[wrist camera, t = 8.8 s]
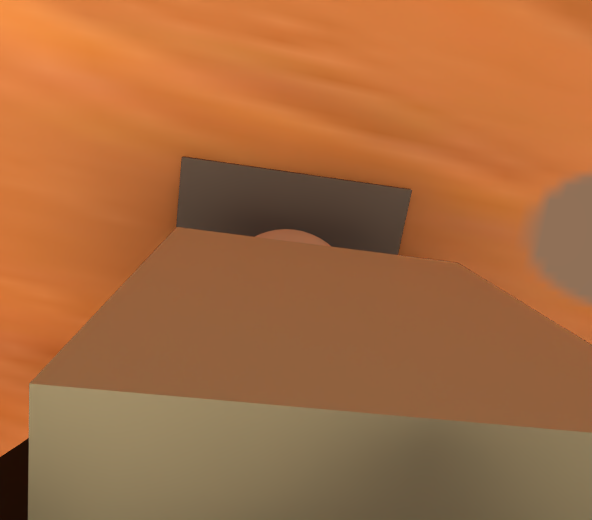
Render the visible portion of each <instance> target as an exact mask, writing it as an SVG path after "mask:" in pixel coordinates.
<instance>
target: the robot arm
mask: <svg viewBox="0 0 592 520" xmlns="http://www.w3.org/2000/svg"><path fill="white" fill-rule="evenodd" d="M28 463H29V438H28V439H27V440H25V441H24V442H23V443H21V444H20V445H18V446H16V447H15V448H13V449H12V450H10V451H9V452H7V453H6V454H4V455H3V456H1V457H0V520H28Z"/></svg>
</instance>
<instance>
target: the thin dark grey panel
mask: <svg viewBox="0 0 592 520" xmlns="http://www.w3.org/2000/svg"><path fill="white" fill-rule="evenodd" d="M411 192H412V190H411V189H405V188H398V187H391V186H384V185H377V184H370V183H363V182H356V181H349V180H342V179H335V178H328V177H321V176H315V175H308V174H301V173H294V172H287V171H280V170H273V169H266V168H259V167H252V166H245V165H238V164H231V163H224V162H217V161H210V160H203V159H196V158H189V157H182V161H181V174H180V186H179V199H178V212H177V224H176V227H181V228H189V229H197V230H205V231H213V232H221V233H228V234H236V235H244V236H252V237H255V236H257V235H259V234H262V233H265V232H268V231H272V230H279V229H294V230H299V231H304V232H307V233H310V234H312V235H315V236H317V237H319V238H321V239H322V240H324V241H325V242H327V243H328V244H329V245H330V246H331V247H339V248H346V249H354V250H362V251H370V252H378V253H386V254H394V255H398V252H399V247H400V243H401V238H402V234H403V229H404V224H405V220H406V215H407V211H408V206H409V202H410V197H411Z"/></svg>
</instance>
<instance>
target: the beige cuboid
mask: <svg viewBox="0 0 592 520" xmlns="http://www.w3.org/2000/svg"><path fill="white" fill-rule="evenodd" d="M28 520H592V345H591V344H589V343H588V342H586V341H584V340H583V339H581V338H580V337H578V336H576V335H575V334H573V333H571V332H570V331H568V330H567V329H565V328H563V327H562V326H560V325H558V324H557V323H555V322H553V321H552V320H550V319H549V318H547V317H545V316H544V315H542V314H540V313H539V312H537V311H536V310H534V309H532V308H531V307H529V306H527V305H526V304H524V303H523V302H521V301H519V300H518V299H516V298H514V297H513V296H511V295H509V294H508V293H506V292H505V291H503V290H501V289H500V288H498V287H496V286H495V285H493V284H492V283H490V282H488V281H487V280H485V279H483V278H482V277H480V276H478V275H477V274H475V273H474V272H472V271H470V270H469V269H467V268H465V267H464V266H462V265H461V264H459V263H457V262H449V261H441V260H433V259H425V258H417V257H409V256H402V255H394V254H386V253H378V252H370V251H362V250H354V249H346V248H339V247H331V246H323V245H315V244H307V243H299V242H291V241H284V240H276V239H268V238H260V237H252V236H244V235H236V234H228V233H221V232H213V231H205V230H197V229H189V228H181V227H176V228H175V229H174V231H173V232H172V233H171V234H170V235H169V236H168V237H167V238H166V239H165V240H164V241H163V242H162V243H161V244H160V245H159V246H158V248H157V249H156V250H155V251H154V252H153V253H152V254H151V255H150V256H149V257H148V258H147V259H146V260H145V261H144V262H143V263H142V265H141V266H140V267H139V268H138V269H137V270H136V271H135V272H134V273H133V274H132V275H131V276H130V277H129V278H128V279H127V280H126V282H125V283H124V284H123V285H122V286H121V287H120V288H119V289H118V290H117V291H116V292H115V293H114V294H113V295H112V296H111V297H110V299H109V300H108V301H107V302H106V303H105V304H104V305H103V306H102V307H101V308H100V309H99V310H98V311H97V312H96V313H95V314H94V316H93V317H92V318H91V319H90V320H89V321H88V322H87V323H86V324H85V325H84V326H83V327H82V328H81V329H80V330H79V331H78V333H77V334H76V335H75V336H74V337H73V338H72V339H71V340H70V341H69V342H68V343H67V344H66V345H65V346H64V347H63V348H62V349H61V351H60V352H59V353H58V354H57V355H56V356H55V357H54V358H53V359H52V360H51V361H50V362H49V363H48V364H47V365H46V366H45V368H44V369H43V370H42V371H41V372H40V373H39V374H38V375H37V376H36V377H35V378H34V379H33V380H32V381H31V382H30V383H29V463H28Z"/></svg>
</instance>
